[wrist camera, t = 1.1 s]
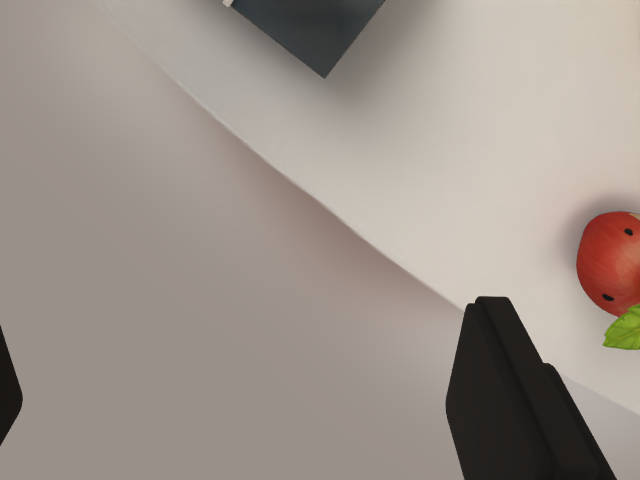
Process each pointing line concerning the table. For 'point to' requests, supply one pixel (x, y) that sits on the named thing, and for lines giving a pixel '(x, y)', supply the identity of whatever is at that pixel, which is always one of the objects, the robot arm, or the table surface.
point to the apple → (613, 273)
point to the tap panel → (310, 26)
